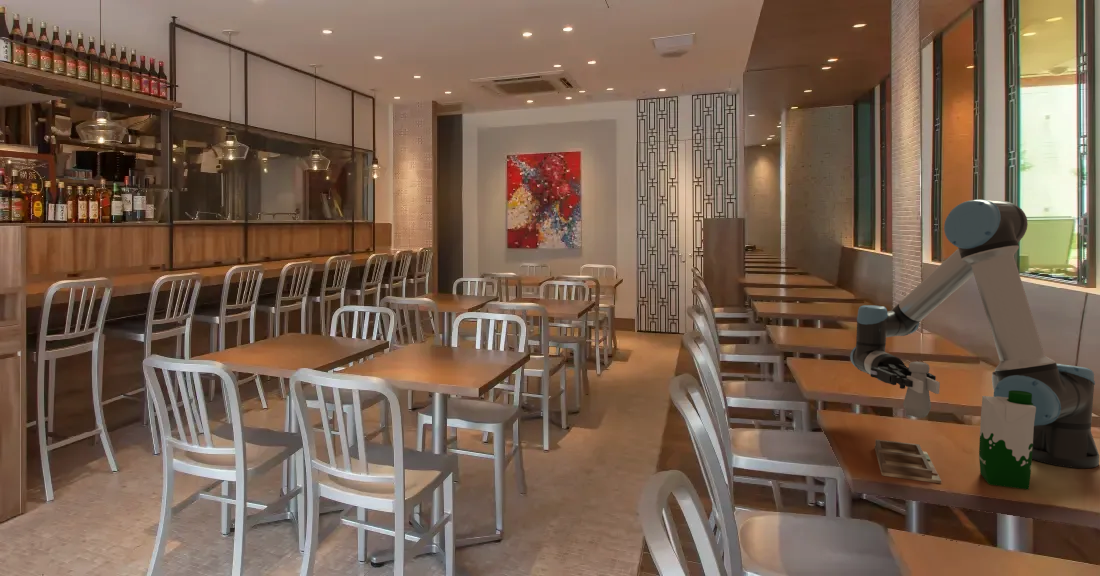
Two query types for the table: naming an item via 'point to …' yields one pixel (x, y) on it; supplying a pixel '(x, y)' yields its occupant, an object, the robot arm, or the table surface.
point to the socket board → (905, 461)
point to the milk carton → (1007, 439)
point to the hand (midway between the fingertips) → (929, 387)
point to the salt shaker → (913, 400)
